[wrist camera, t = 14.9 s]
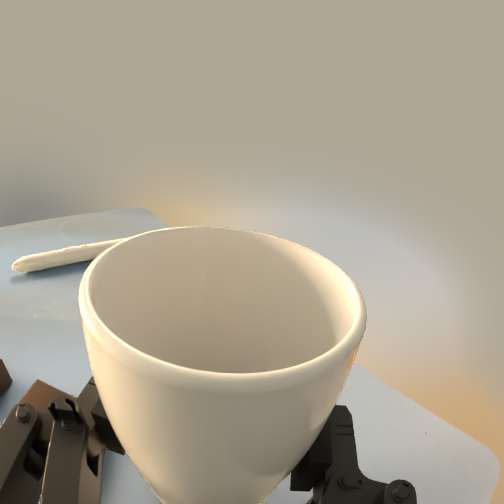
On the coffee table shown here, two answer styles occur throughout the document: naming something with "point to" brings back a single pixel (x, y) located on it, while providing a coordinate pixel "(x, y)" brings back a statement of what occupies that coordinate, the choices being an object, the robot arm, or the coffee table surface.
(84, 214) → the coffee table surface
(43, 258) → the marker
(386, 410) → the coffee table surface
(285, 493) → the coffee table surface
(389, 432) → the coffee table surface
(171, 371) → the drinking glass
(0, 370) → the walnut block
